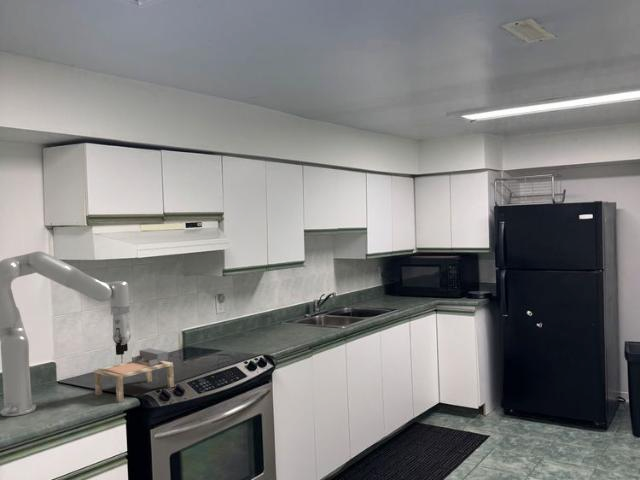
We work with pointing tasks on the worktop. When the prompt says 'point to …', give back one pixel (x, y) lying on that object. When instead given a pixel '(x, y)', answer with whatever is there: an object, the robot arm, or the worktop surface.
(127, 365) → the trapdoor
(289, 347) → the worktop surface
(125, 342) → the lollipop
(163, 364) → the trapdoor frame
